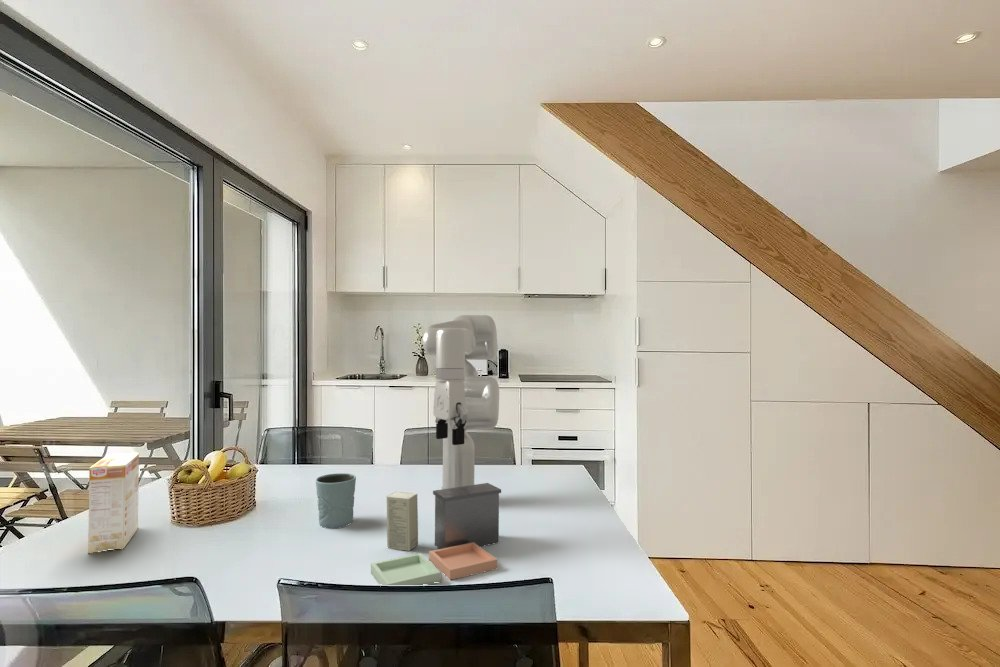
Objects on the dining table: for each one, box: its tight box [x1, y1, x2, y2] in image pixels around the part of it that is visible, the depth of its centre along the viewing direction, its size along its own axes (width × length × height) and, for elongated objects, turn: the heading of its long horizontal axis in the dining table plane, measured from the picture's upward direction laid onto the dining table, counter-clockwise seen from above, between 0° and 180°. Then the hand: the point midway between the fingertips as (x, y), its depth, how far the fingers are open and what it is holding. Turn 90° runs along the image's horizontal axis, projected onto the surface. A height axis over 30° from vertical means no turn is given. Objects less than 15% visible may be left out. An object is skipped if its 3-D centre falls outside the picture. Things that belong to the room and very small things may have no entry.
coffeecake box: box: [87, 452, 140, 554], centre depth 126 cm, size 15×7×20 cm, turn 23°
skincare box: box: [386, 491, 419, 552], centre depth 123 cm, size 6×4×12 cm
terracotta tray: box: [428, 542, 498, 581], centre depth 113 cm, size 11×11×2 cm
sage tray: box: [370, 552, 442, 585], centre depth 107 cm, size 11×11×2 cm
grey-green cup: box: [315, 472, 357, 529], centre depth 139 cm, size 10×10×12 cm
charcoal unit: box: [432, 482, 502, 549], centre depth 125 cm, size 7×15×13 cm, turn 120°
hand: (449, 441), depth 136 cm, fingers open, 9 cm apart
